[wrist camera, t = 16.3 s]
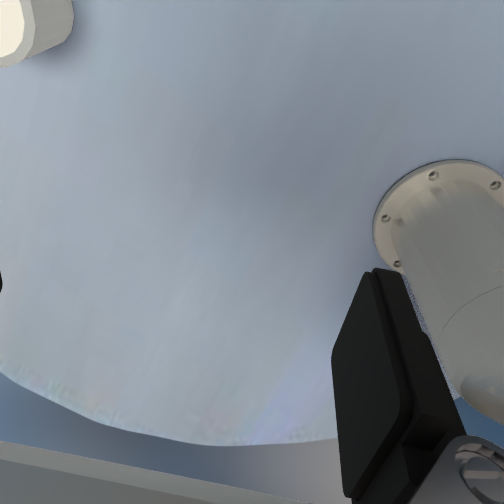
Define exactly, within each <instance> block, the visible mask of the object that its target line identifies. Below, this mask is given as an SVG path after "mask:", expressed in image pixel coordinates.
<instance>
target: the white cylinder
mask: <svg viewBox="0 0 504 504" xmlns="http://www.w3.org/2000/svg"><path fill="white" fill-rule="evenodd" d="M73 22H74V13H73V6H72V1H71V0H0V67H5V68H7V67H9V66H11V65H14V64H16V63H18V62H21V61H23V60H25V59H27V58H30V57H32V56H34V55H36V54H38V53H41V52H43V51H45V50H47V49H49V48H52V47H54V46H56V45H58V44H60V43H63V42H64V41H65V40H66V38H67V37H68V36H69V34H70V33H71V32H72V27H73Z"/></svg>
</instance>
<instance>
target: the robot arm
mask: <svg viewBox="0 0 504 504" xmlns="http://www.w3.org/2000/svg"><path fill="white" fill-rule="evenodd" d="M431 172H433V173H432V174H431V175H429V174H430V173H431ZM492 182H493V183H492ZM383 215H385V216H383ZM373 237H374V241H375V244H376V247H377V250H378V252H379V254H380V256H381V257H382V259H383V260H384V261H385V263H386V264H387V265H388V266H390V267H391V268H392V269H393V270H395V271H397V272H395V271H390V270H385V269H381V268H374V269H373V271H372V272H371V273H370V272H365V273H364V275H363V277H362V279H361V281H360V284H359V286H358V289H357V291H356V294H355V296H354V298H353V301H352V303H351V306H350V308H349V311H348V313H347V316H346V318H345V320H344V323H343V325H342V328H341V330H340V333H339V335H338V338H337V340H336V342H335V345H334V347H333V351H332V356H331V365H332V376H333V387H334V398H335V409H336V420H337V431H338V441H339V452H340V463H341V474H342V484H343V492H344V495H345V497H347V498H351V499H352V504H504V449H502V448H500V447H499V446H497V445H496V444H494V443H493V442H491V441H488V440H486V439H483V438H480V437H478V436H471V435H467V434H466V431H465V429H464V426H463V424H462V421H461V419H460V416H459V413H458V411H457V409H456V406H455V403H454V401H453V398H452V395H451V393H450V390H449V388H448V385H447V383H446V380H445V378H444V375H443V372H442V370H441V367H440V365H439V362H438V360H437V357H436V354H435V352H434V349H433V347H432V344H431V342H430V339H429V337H428V336H427V334H426V333H424V332H423V331H422V329H421V327H420V324H419V321H418V319H417V316H416V313H415V311H414V308H413V306H412V303H411V300H410V298H409V295H408V292H407V290H406V287H405V284H404V282H403V279H402V276H401V274H402V275H405V276H406V277H407V280H408V282H409V285H410V287H411V290H412V292H413V294H414V297H415V299H416V302H417V304H418V307H419V309H420V311H421V314H422V316H423V319H424V321H425V324H426V326H427V328H428V331H429V333H430V336H431V338H432V341H433V343H434V345H435V348H436V350H437V353H438V355H439V358H440V360H441V362H442V364H443V367H444V369H445V371H446V374H447V376H448V378H449V380H450V382H451V383H452V385H453V386H454V388H455V389H456V391H457V392H458V393H459V394H460V395H461V396H462V397H463V398H464V400H465V401H467V403H469V404H470V405H471V406H472V407H474V408H475V409H476V410H478V411H479V412H481V413H482V414H484V415H485V416H487V417H489V418H491V419H493V420H495V421H496V422H498V423H501V424H503V425H504V179H503V178H502V177H501V176H500V175H499V174H498V173H496V172H495V171H493V170H492V169H490V168H489V167H487V166H485V165H482V164H479V163H477V162H473V161H466V160H446V161H441V162H436V163H432V164H429V165H426V166H424V167H421V168H418V169H417V170H415V171H413V172H411V173H410V174H408V175H406V176H405V177H403V178H402V179H401V180H400V181H398V182H397V183H396V184H395V185H394V186H393V187H392V188H391V189H390V190H389V191H388V192H387V193H386V195H385V196H384V198H383V199H382V201H381V203H380V204H379V206H378V209H377V211H376V214H375V217H374V223H373ZM1 289H2V277H1V273H0V292H1ZM0 504H311V503H306V502H302V501H297V500H292V499H288V498H283V497H279V496H274V495H269V494H265V493H260V492H256V491H251V490H247V489H242V488H237V487H232V486H227V485H222V484H216V483H212V482H206V481H202V480H197V479H192V478H187V477H182V476H177V475H172V474H167V473H162V472H157V471H152V470H147V469H142V468H137V467H132V466H127V465H122V464H117V463H112V462H107V461H102V460H97V459H92V458H87V457H82V456H77V455H71V454H66V453H61V452H56V451H51V450H46V449H40V448H35V447H30V446H25V445H20V444H15V443H10V442H5V441H0Z"/></svg>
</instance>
